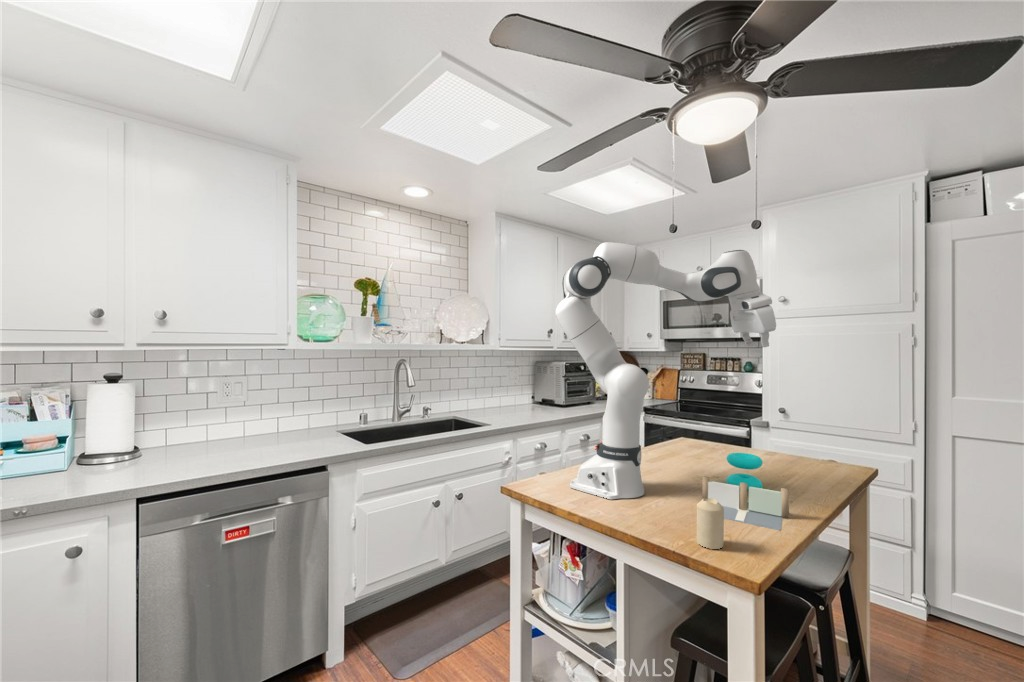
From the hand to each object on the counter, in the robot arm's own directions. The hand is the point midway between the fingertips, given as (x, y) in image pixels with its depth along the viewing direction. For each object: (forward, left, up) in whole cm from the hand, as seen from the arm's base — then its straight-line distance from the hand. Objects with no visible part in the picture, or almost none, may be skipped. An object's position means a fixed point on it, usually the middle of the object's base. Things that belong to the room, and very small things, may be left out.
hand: (757, 346), depth 134 cm
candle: (-5, -46, -45) cm, 64 cm away
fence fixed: (-6, -19, -44) cm, 49 cm away
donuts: (-3, +3, -45) cm, 45 cm away
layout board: (-2, -20, -45) cm, 49 cm away
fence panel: (+4, -19, -44) cm, 48 cm away
